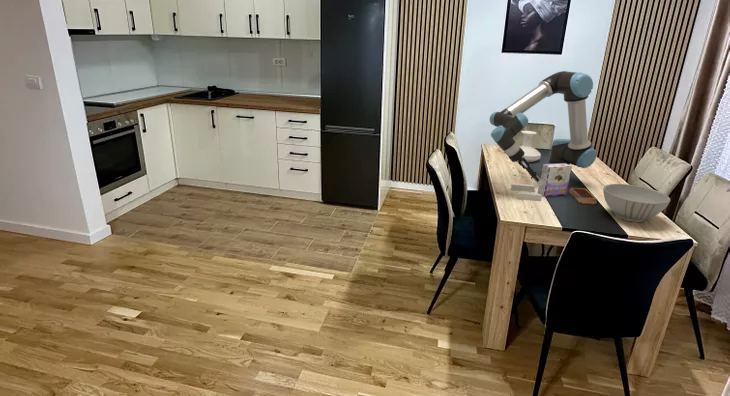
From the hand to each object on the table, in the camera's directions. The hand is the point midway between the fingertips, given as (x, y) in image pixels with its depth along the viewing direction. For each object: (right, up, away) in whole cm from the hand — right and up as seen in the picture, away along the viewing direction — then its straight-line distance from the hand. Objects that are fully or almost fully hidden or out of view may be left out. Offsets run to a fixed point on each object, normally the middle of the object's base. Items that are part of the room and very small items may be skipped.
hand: (541, 184), depth 223 cm
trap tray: (+21, -7, 0) cm, 22 cm away
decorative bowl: (+33, -16, -22) cm, 42 cm away
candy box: (+8, -5, +5) cm, 10 cm away
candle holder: (+17, +19, +70) cm, 75 cm away
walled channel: (-7, -5, +3) cm, 10 cm away
